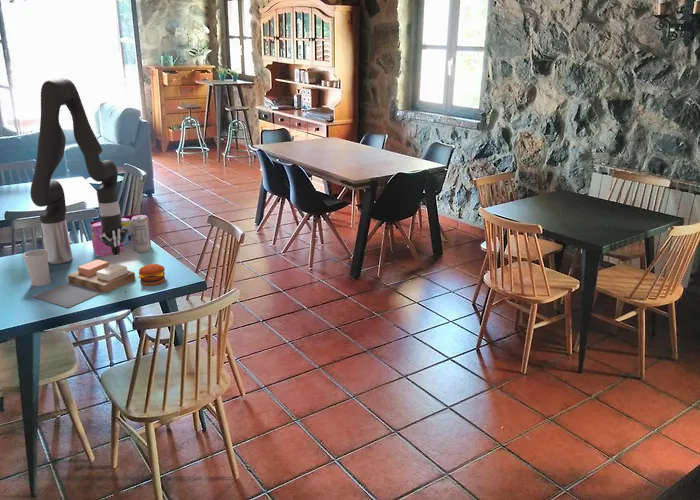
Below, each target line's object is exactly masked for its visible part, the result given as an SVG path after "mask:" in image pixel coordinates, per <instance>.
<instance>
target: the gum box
mask: <svg viewBox="0 0 700 500" xmlns="http://www.w3.org/2000/svg"><path fill="white" fill-rule="evenodd" d="M137 216H144V217H145V219H146V220H147V226H148V234H149V243H150V247H152V243H151V234H150V224H149V222H150V221H149V217H148V216H147V215H145V213H144V212H143V213H142V212H141V213H134V214H129V215H121V220H122V223H121V225H122V227H123V228H126V229H128V231H127V233H126V236H125V238H124V241H123V242H122V243H120V245H119V246H120V253H123V252H124V253H125V252H130V251H134V250H135V242H134V235H133V227H132V221H133V218H134V217H137ZM88 224H89V225H88V226H89V230H90V235H91V236H90V237H91V243H92V248H93V253H94V254H95V256H97V257H103V256H110V255H113V254H112V249H111V247H110V246H106V245H105V244H104V243H103V242H102V241H101V240H100V239H99V238H98V237H99V236H101V235H102V233H103V232H102V230H103V227H102V225H101V220H100V219H99V220H95V221H88ZM107 240H108V238H107ZM135 251H136V250H135Z"/></svg>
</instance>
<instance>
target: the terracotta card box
mask: <svg viewBox="0 0 700 500" xmlns="http://www.w3.org/2000/svg"><path fill="white" fill-rule="evenodd" d="M109 266H110V265H109V261H106V260H101V259H99V258H97V259H94V260H93V261H90V262H87V263H84V264H81V265H79V266H77V271H79V273H80V274H84V275H88V276H91V275H93V274H96V272H97V271H99V270H102V269H104V268H107V267H109Z"/></svg>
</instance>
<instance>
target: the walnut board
mask: <svg viewBox="0 0 700 500" xmlns="http://www.w3.org/2000/svg"><path fill="white" fill-rule="evenodd" d="M127 272H128V273H126V274H123V275H121V276H119V277H117V278H114V279H112V280H110V281H107V280H103V279H99V278H97V274H93V275H91V276H88V275H84V274H80V273H79V271H78V270H77V271H74V272H72V273H70V274H68V275H67V282H71V283H74V284H78V285H81V286H85V287H89V288H92V289H96V290H99V291H103V292H104V293H103V294H107V293H109V292H111V291H113V290H115V289H118V288H120V287H122V286H124V285H126V284H129V283H131V282H133V281H136V273H135V272H134V271H131V270H127Z"/></svg>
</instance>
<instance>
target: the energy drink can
mask: <svg viewBox="0 0 700 500" xmlns="http://www.w3.org/2000/svg"><path fill="white" fill-rule="evenodd" d="M132 227H133V235H134V242H135V251H136V253H138V254H144V253H145V254H146V253H148V252H150V250H151V246H150V243H149V234H150V233H149V234H148V226H147V220H146V219H145V217H144V216H137V217H134V218H133V221H132Z"/></svg>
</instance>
